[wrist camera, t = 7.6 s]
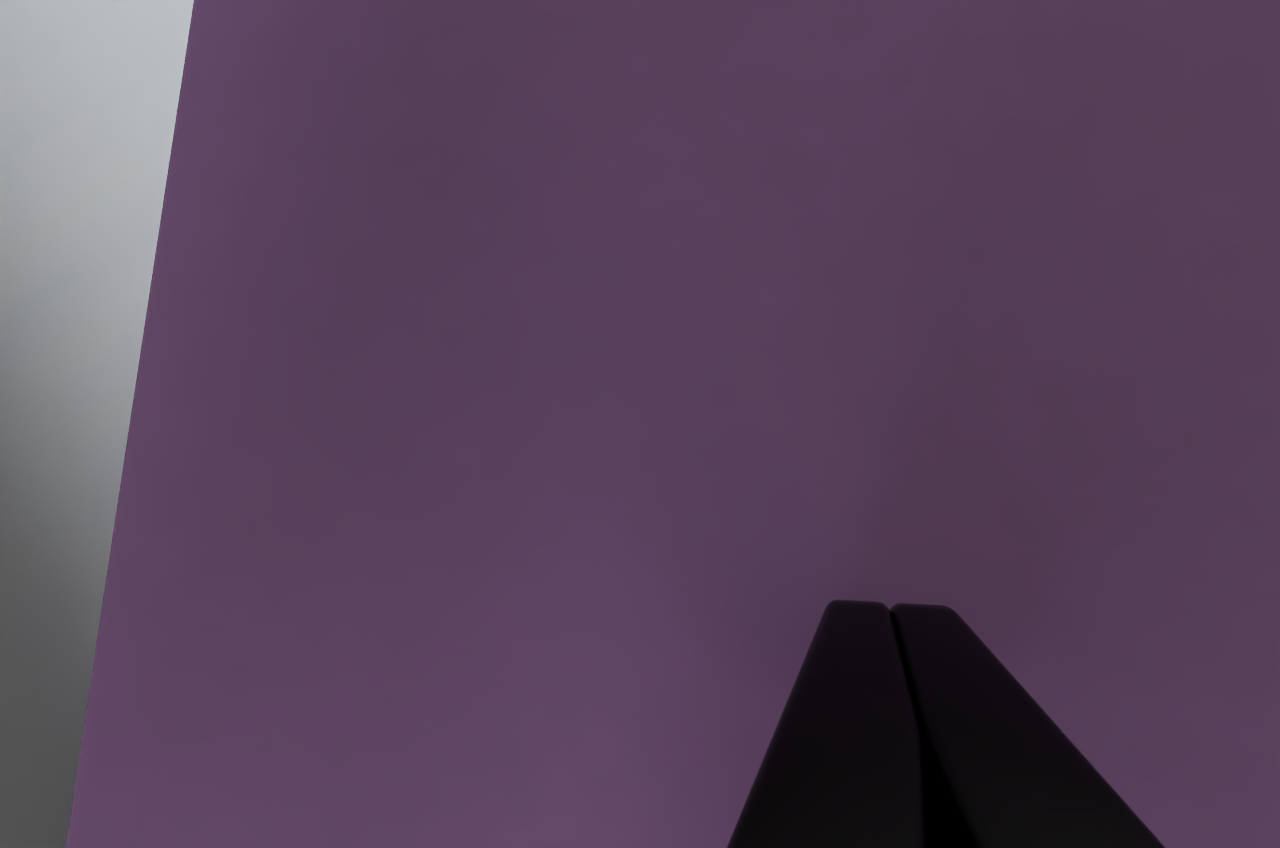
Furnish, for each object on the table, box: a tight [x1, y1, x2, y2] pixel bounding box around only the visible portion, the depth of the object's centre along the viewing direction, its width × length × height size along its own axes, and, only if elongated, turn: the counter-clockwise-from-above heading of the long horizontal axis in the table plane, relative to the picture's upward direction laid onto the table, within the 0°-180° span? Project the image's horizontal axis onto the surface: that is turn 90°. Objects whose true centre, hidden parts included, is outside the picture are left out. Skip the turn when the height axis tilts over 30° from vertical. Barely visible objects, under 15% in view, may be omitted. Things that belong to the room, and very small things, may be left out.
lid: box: [66, 0, 1280, 848], centre depth 9 cm, size 14×12×1 cm
